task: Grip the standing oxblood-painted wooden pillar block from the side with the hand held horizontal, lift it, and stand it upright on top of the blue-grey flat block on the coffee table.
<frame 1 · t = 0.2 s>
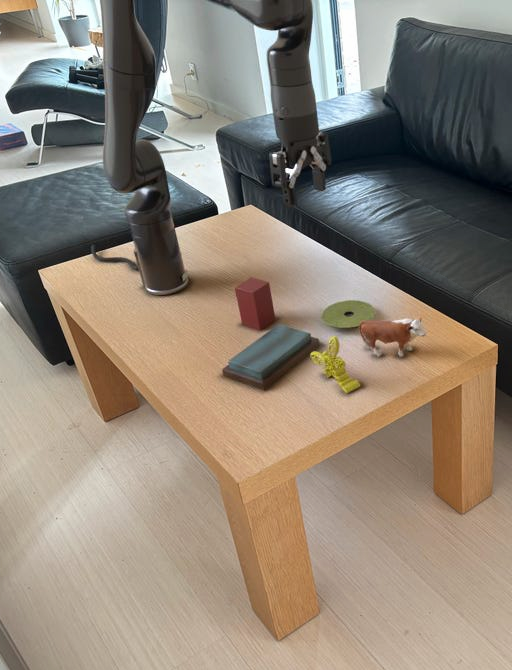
hand: (306, 198, 135), 29 cm above the table, tool pointing down, fingers open, 8 cm apart
decorative insect: (334, 377, 138), on the table
mat: (349, 321, 155), on the table
bull figurine: (394, 353, 144), on the table
blue-grey flat block: (272, 360, 143), on the table
pillar block: (259, 322, 155), on the table
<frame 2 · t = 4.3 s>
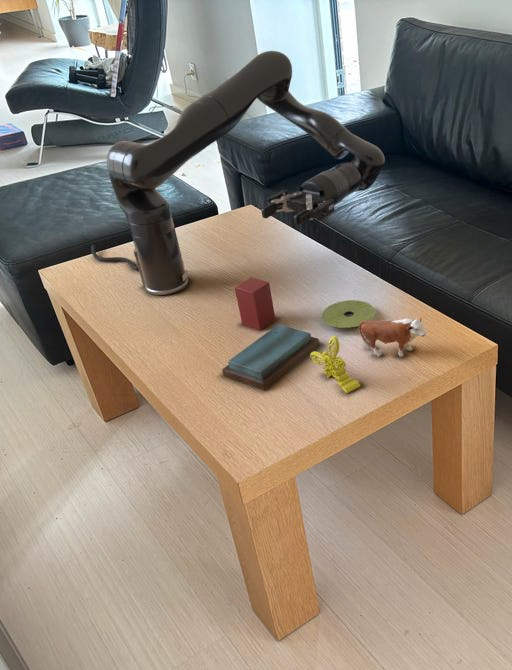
hand: (278, 217, 152), 19 cm above the table, tool horizontal, fingers open, 8 cm apart
nothing on the table moved.
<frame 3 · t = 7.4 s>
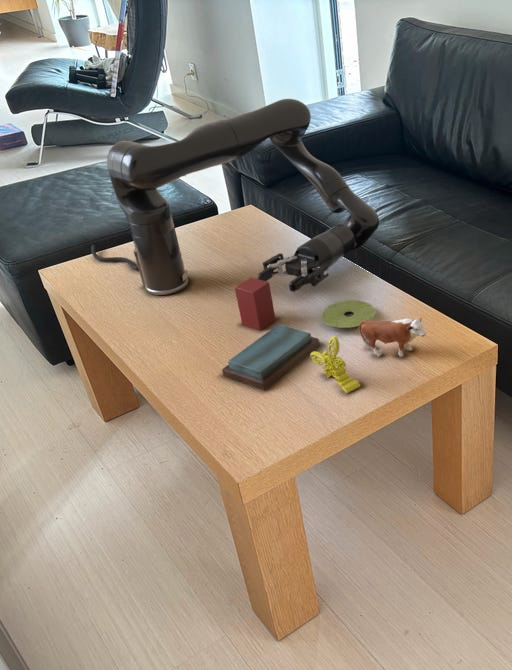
hand: (274, 283, 157), 6 cm above the table, tool horizontal, fingers open, 8 cm apart
nothing on the table moved.
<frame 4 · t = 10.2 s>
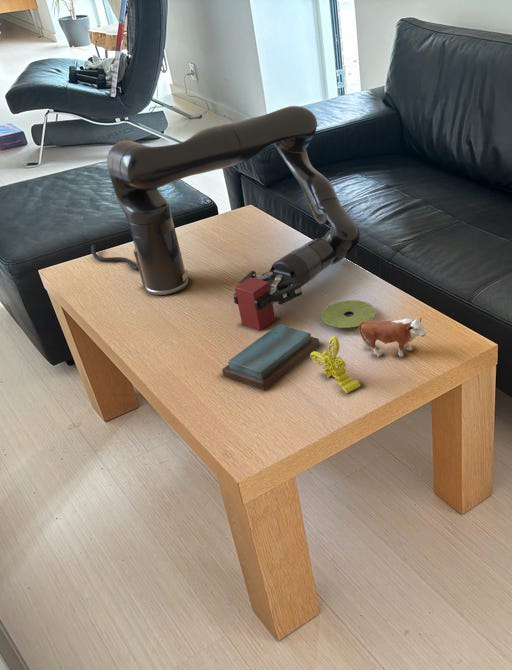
hand: (245, 303, 150), 6 cm above the table, tool horizontal, fingers closed on pillar block, 5 cm apart
pillar block: (258, 322, 155), on the table, touching gripper
everything else where it was.
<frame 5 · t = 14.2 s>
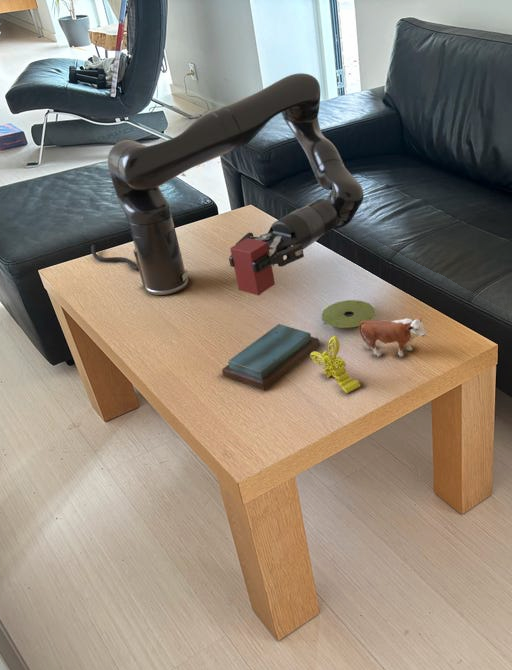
hand: (242, 265, 138), 18 cm above the table, tool horizontal, fingers closed on pillar block, 5 cm apart
pillar block: (257, 287, 143), point 12 cm above the table, touching gripper
everything else where it was.
when the fingers open (9 cm above the table, at t = 18.4 s): pillar block stays where it is, resting on blue-grey flat block.
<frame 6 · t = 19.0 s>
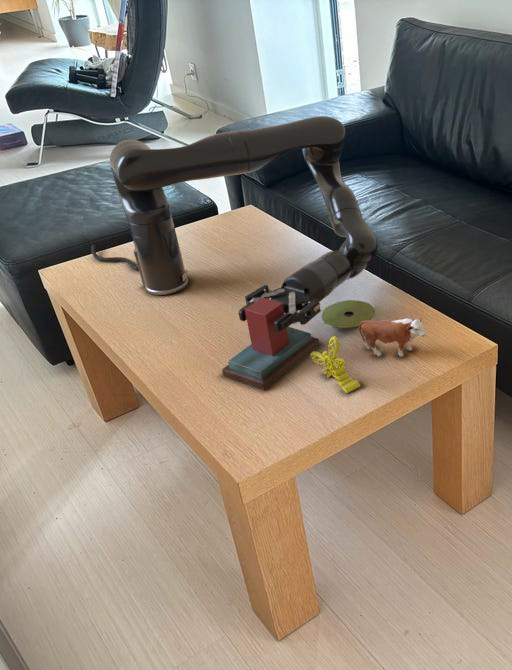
hand: (257, 322, 136), 10 cm above the table, tool horizontal, fingers open, 8 cm apart
pillar block: (271, 346, 141), point 3 cm above the table, touching blue-grey flat block
everything else where it was.
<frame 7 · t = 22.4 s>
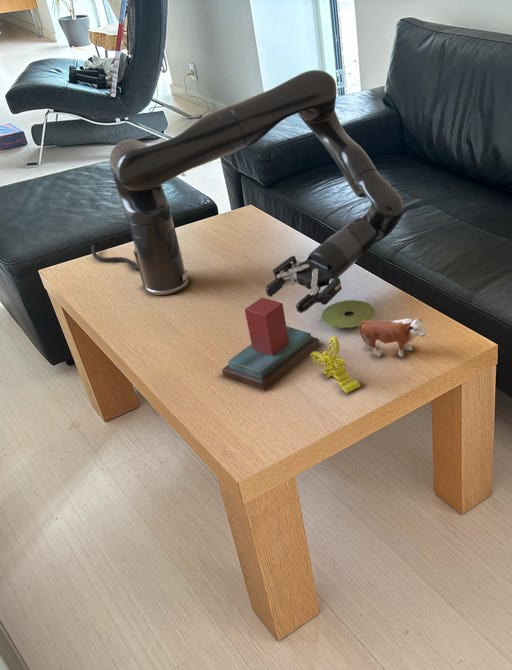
hand: (282, 301, 147), 8 cm above the table, tool horizontal, fingers open, 8 cm apart
nothing on the table moved.
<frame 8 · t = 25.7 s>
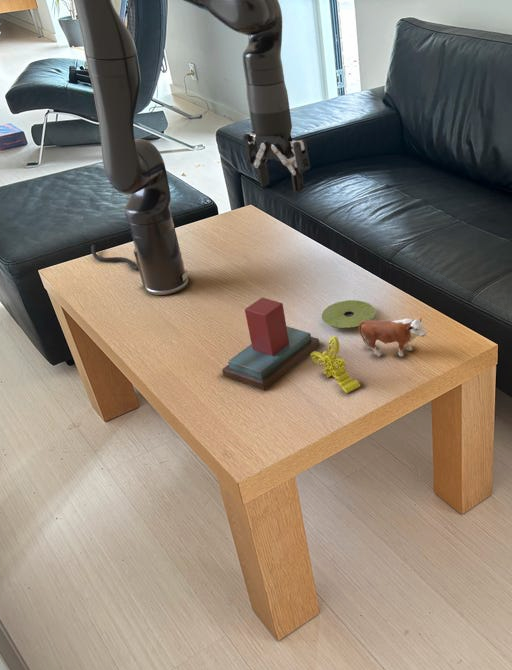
hand: (281, 188, 148), 26 cm above the table, tool pointing down, fingers open, 8 cm apart
nothing on the table moved.
at the end: pillar block inside the target area on the blue-grey flat block (0.1 cm from its centre), point 3.2 cm above the blue-grey flat block's base; pillar block tilted 0°; the gripper is holding nothing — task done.
